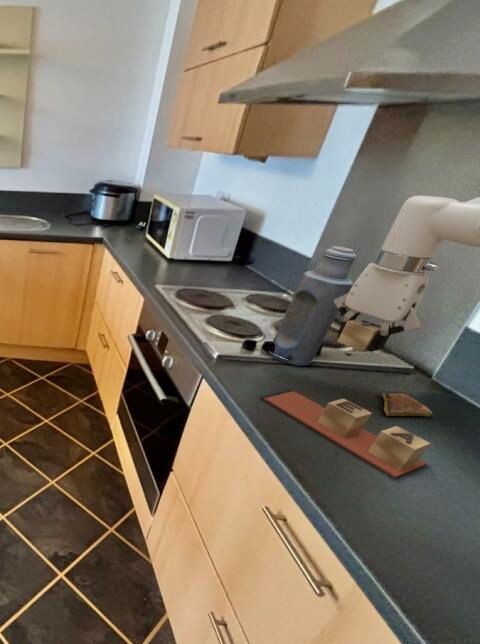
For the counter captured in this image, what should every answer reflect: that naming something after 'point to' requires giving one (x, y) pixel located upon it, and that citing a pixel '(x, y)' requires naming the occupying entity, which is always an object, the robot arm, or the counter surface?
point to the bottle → (314, 307)
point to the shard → (404, 406)
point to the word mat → (356, 443)
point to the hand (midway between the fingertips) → (357, 343)
